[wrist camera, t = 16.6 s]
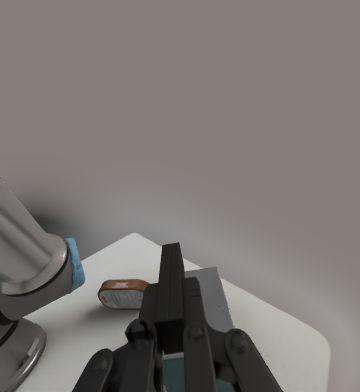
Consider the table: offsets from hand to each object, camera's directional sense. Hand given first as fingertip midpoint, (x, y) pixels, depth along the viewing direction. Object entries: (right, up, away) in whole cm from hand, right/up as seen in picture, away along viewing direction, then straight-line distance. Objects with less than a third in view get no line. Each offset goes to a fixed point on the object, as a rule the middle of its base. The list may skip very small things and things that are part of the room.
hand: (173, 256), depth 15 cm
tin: (-13, -24, +30) cm, 40 cm away
